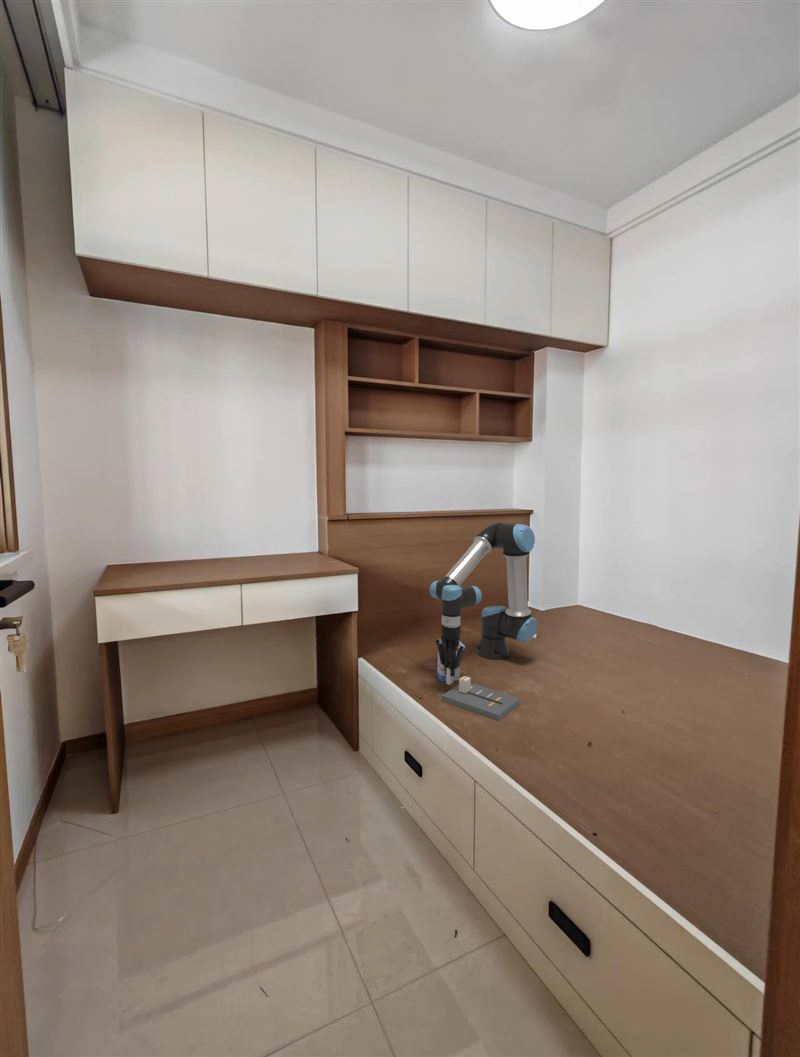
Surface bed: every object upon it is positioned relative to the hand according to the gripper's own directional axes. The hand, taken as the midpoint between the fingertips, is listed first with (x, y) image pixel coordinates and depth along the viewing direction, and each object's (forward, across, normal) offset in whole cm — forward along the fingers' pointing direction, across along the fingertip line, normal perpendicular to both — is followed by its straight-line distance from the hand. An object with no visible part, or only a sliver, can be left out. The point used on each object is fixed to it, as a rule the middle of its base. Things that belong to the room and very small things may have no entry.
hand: (449, 683), depth 191 cm
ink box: (+4, -7, +10) cm, 13 cm away
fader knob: (+1, +7, 0) cm, 7 cm away
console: (+3, +14, 0) cm, 14 cm away
